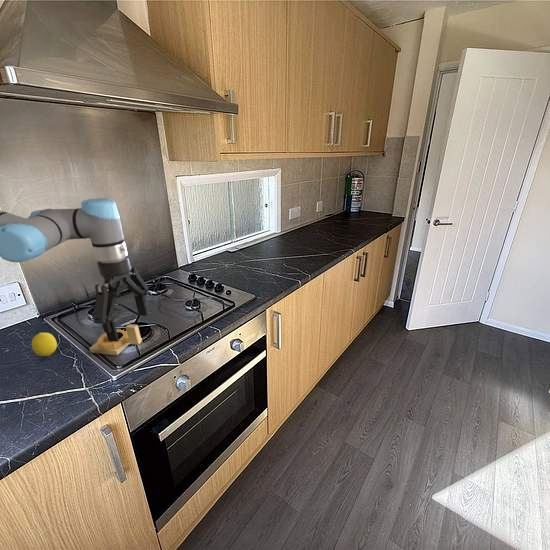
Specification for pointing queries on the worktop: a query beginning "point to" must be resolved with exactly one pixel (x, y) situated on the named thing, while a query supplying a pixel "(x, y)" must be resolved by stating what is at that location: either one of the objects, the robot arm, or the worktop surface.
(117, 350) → the peg stand
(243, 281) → the worktop surface
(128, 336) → the hang ring
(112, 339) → the robot arm
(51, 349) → the lemon
